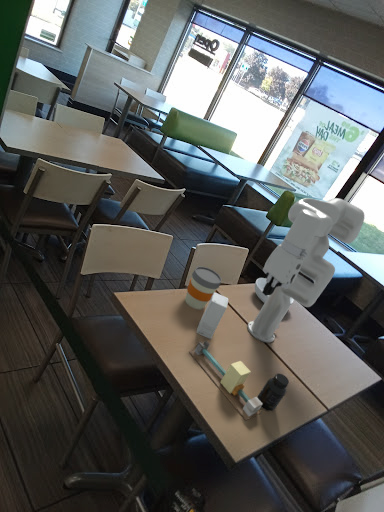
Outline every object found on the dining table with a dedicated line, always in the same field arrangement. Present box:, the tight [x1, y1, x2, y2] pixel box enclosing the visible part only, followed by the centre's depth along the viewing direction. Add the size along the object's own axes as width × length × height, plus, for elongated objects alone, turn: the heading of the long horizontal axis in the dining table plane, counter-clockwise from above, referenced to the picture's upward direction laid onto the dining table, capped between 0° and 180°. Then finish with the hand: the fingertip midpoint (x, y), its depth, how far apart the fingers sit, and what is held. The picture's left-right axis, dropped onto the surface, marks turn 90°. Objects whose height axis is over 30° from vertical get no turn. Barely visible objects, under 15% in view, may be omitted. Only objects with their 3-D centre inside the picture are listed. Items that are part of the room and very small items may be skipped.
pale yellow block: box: [220, 360, 251, 393], centre depth 128 cm, size 5×5×8 cm
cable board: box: [188, 340, 262, 421], centre depth 131 cm, size 8×30×5 cm, turn 40°
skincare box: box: [196, 292, 229, 340], centre depth 149 cm, size 8×7×16 cm
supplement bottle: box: [256, 372, 290, 412], centre depth 128 cm, size 7×7×12 cm
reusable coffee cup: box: [184, 265, 223, 310], centre depth 164 cm, size 12×13×15 cm
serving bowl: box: [254, 277, 295, 306], centre depth 196 cm, size 21×21×7 cm
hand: (266, 293), depth 129 cm, fingers closed
